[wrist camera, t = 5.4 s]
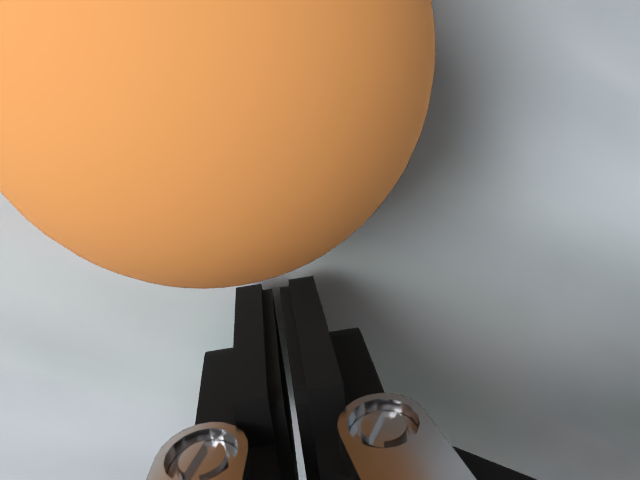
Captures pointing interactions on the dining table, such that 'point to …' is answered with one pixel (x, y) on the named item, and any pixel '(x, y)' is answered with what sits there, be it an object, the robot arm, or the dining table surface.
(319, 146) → the ball
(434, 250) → the dining table surface
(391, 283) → the dining table surface
